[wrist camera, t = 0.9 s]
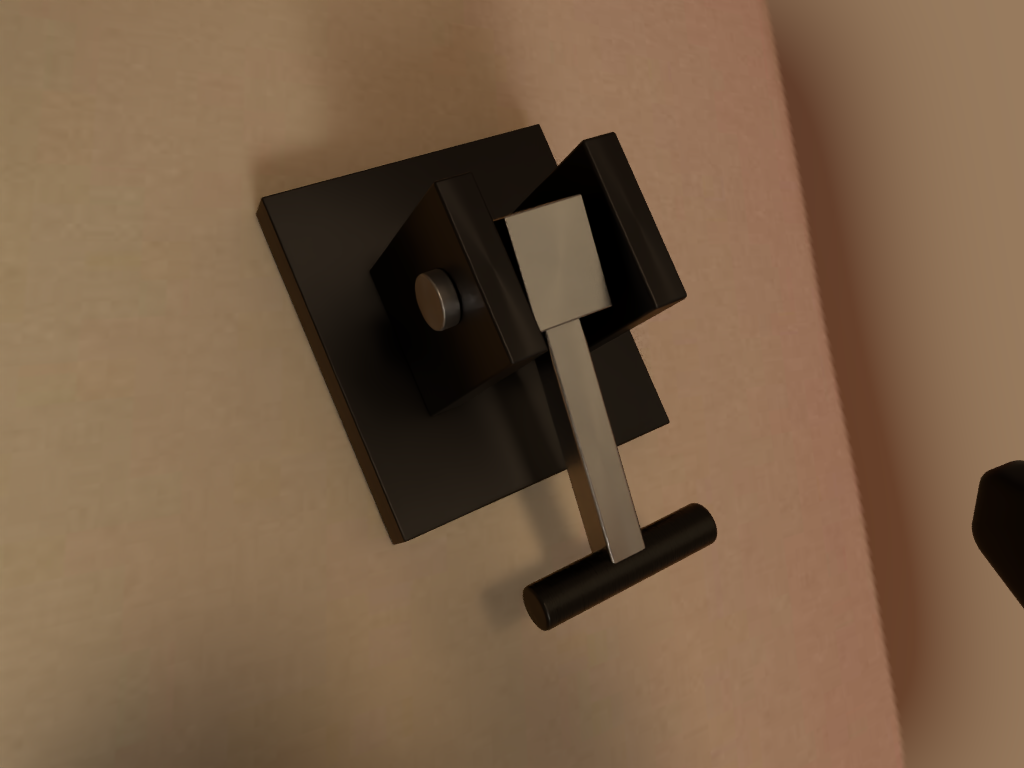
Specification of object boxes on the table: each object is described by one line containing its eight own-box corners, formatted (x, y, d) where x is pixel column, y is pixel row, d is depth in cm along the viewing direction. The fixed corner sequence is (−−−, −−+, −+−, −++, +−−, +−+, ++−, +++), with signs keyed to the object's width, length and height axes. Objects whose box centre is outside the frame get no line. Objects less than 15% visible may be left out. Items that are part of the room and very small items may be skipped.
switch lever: (682, 535, 28) (738, 550, 26) (518, 619, 25) (565, 644, 23) (586, 190, 26) (637, 175, 24) (401, 247, 24) (439, 236, 22)
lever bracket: (651, 429, 31) (798, 377, 24) (393, 545, 27) (483, 520, 20) (524, 140, 31) (634, 11, 25) (254, 213, 27) (299, 84, 21)
